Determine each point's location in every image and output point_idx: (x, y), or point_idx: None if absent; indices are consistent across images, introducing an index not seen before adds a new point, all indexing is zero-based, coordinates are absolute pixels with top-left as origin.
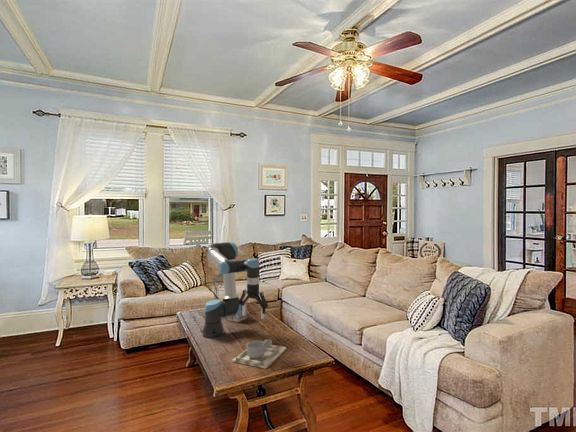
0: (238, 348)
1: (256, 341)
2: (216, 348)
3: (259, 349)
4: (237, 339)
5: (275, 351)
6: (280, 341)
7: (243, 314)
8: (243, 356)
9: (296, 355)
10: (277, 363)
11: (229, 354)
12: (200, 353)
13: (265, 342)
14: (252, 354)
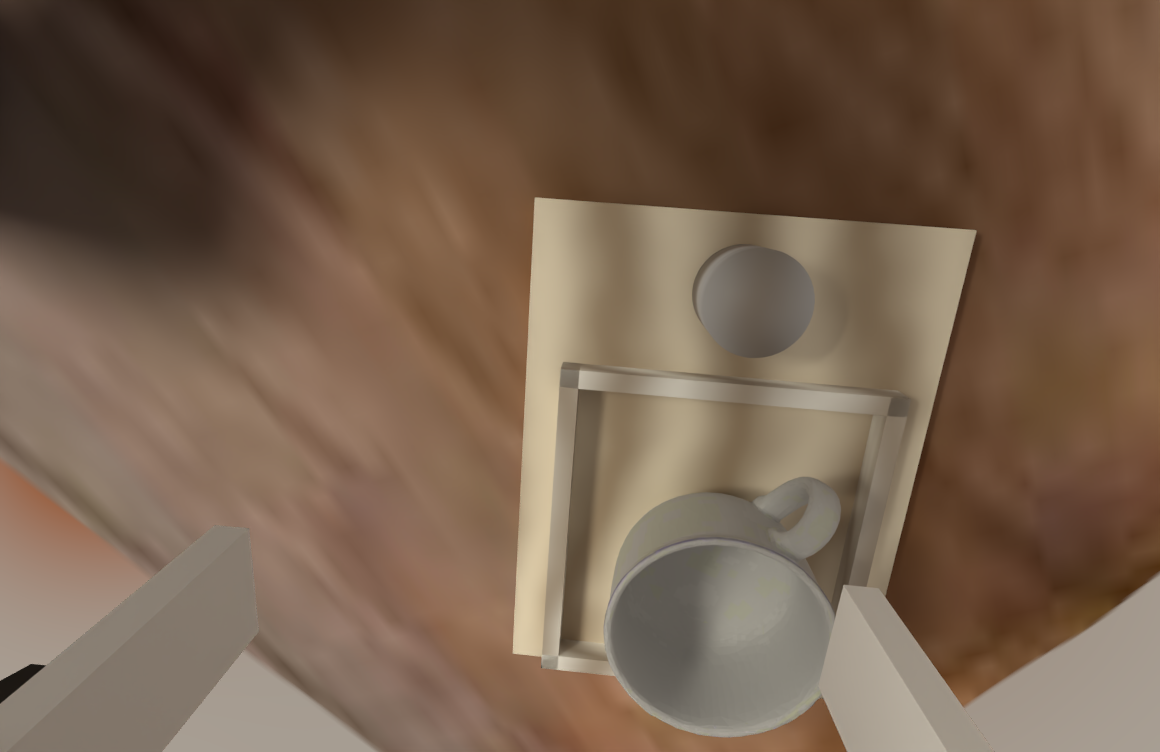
0: (413, 379)
1: (689, 547)
2: (206, 443)
3: (793, 685)
4: (254, 144)
5: (897, 450)
6: (828, 7)
7: (234, 647)
8: (578, 575)
9: (1114, 357)
10: (935, 569)
11: (408, 524)
12: (151, 574)
13: (821, 546)
14: (710, 672)
